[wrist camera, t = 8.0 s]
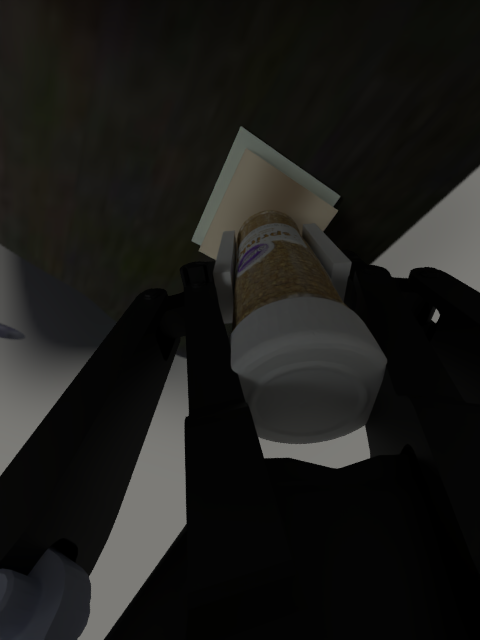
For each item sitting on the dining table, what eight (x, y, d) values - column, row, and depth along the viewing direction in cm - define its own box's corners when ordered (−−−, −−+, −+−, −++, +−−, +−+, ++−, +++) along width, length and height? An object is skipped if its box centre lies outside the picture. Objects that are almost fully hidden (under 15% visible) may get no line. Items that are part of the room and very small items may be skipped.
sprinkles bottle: (260, 194, 16) (298, 302, 5) (313, 234, 17) (441, 391, 6) (223, 252, 18) (189, 420, 7) (273, 283, 19) (312, 464, 8)
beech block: (204, 236, 24) (198, 250, 20) (245, 147, 19) (246, 148, 16) (274, 274, 26) (278, 292, 22) (324, 201, 22) (338, 210, 18)
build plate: (192, 238, 24) (191, 240, 24) (241, 127, 19) (241, 126, 19) (276, 282, 27) (276, 285, 26) (337, 194, 22) (340, 196, 21)
